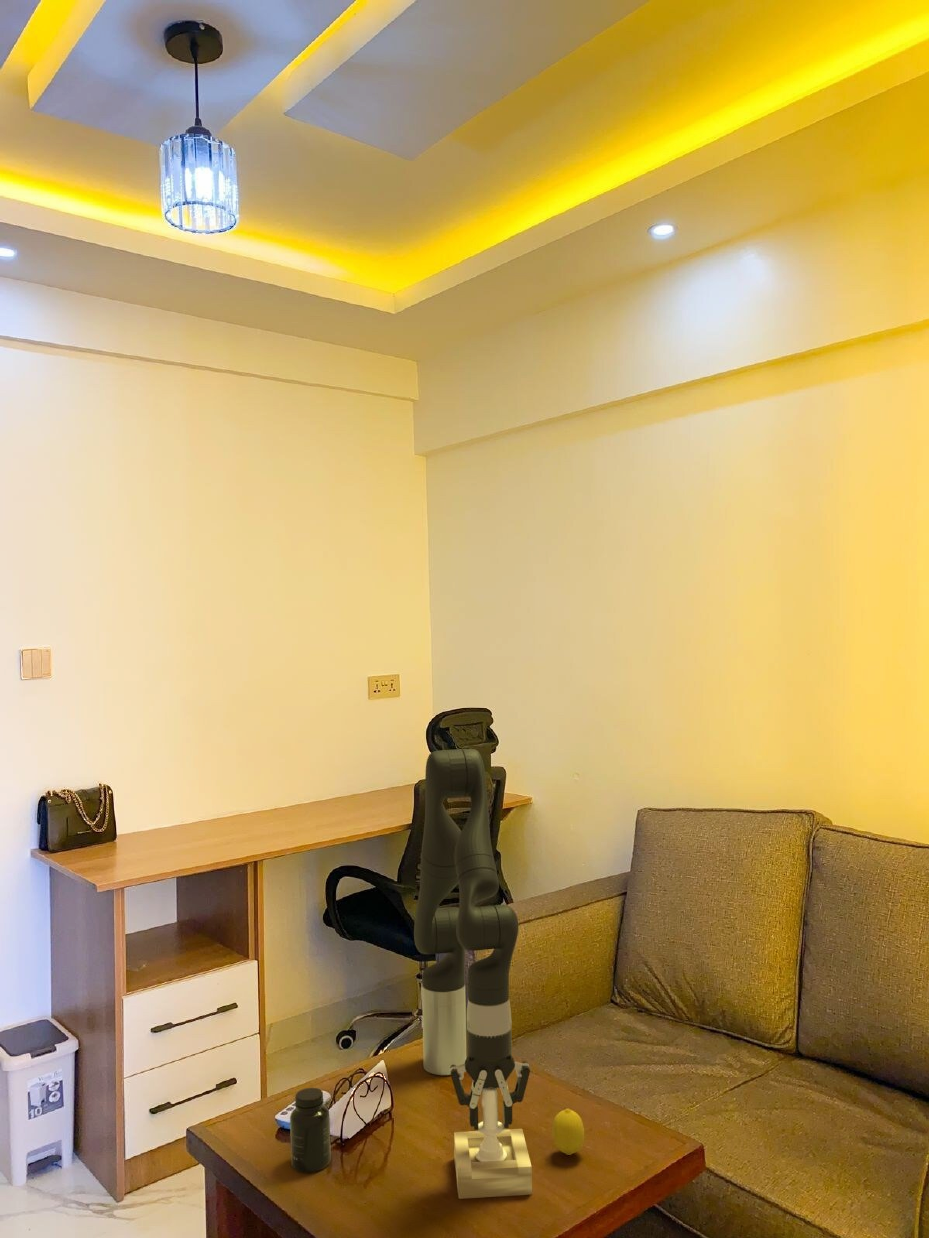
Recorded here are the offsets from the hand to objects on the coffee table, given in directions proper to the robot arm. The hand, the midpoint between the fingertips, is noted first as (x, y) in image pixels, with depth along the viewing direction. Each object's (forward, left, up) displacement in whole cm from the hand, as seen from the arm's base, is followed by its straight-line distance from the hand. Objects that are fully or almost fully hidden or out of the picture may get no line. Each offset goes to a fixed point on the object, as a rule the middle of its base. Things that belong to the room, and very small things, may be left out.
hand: (490, 1126), depth 160 cm
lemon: (-5, +14, -8) cm, 17 cm away
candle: (0, 0, -5) cm, 5 cm away
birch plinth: (0, 0, -8) cm, 8 cm away
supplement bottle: (-7, -31, -8) cm, 33 cm away
